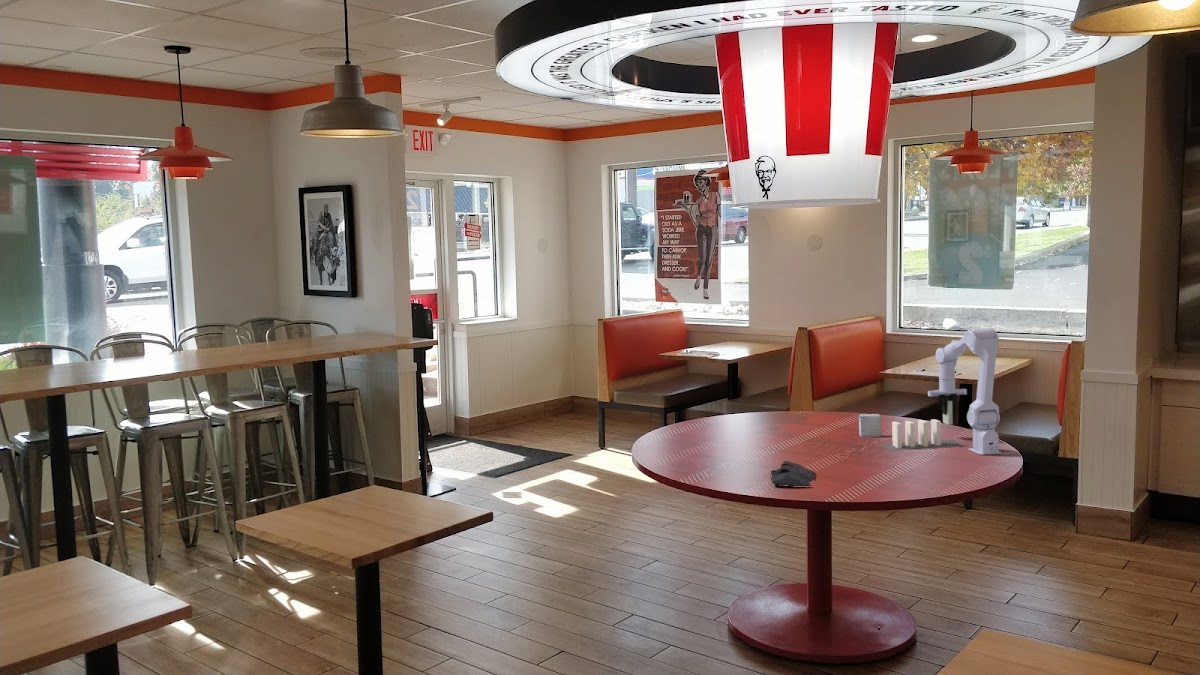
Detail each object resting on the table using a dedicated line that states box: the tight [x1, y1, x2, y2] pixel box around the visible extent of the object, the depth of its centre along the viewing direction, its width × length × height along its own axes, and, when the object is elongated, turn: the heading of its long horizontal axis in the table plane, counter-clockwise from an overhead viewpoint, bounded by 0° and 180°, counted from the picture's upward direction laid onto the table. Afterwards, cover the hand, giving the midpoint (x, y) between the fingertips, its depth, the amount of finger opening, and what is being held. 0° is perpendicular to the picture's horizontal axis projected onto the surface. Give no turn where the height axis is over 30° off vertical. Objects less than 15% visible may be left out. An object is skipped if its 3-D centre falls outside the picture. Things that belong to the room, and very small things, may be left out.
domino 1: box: [891, 421, 903, 448], centre depth 347 cm, size 2×5×9 cm, turn 4°
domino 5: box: [942, 400, 954, 426], centre depth 357 cm, size 2×5×9 cm, turn 3°
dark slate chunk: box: [770, 460, 816, 486], centre depth 307 cm, size 15×22×5 cm
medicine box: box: [858, 413, 882, 438], centre depth 370 cm, size 8×4×9 cm, turn 84°
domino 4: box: [930, 418, 942, 446], centre depth 348 cm, size 2×5×9 cm, turn 4°
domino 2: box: [904, 420, 916, 447], centre depth 347 cm, size 2×5×9 cm, turn 4°
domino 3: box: [917, 419, 929, 446], centre depth 348 cm, size 2×5×9 cm, turn 3°
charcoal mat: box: [879, 439, 969, 452], centre depth 348 cm, size 12×29×1 cm, turn 94°
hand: (947, 413), depth 357 cm, fingers closed on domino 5, 1 cm apart
